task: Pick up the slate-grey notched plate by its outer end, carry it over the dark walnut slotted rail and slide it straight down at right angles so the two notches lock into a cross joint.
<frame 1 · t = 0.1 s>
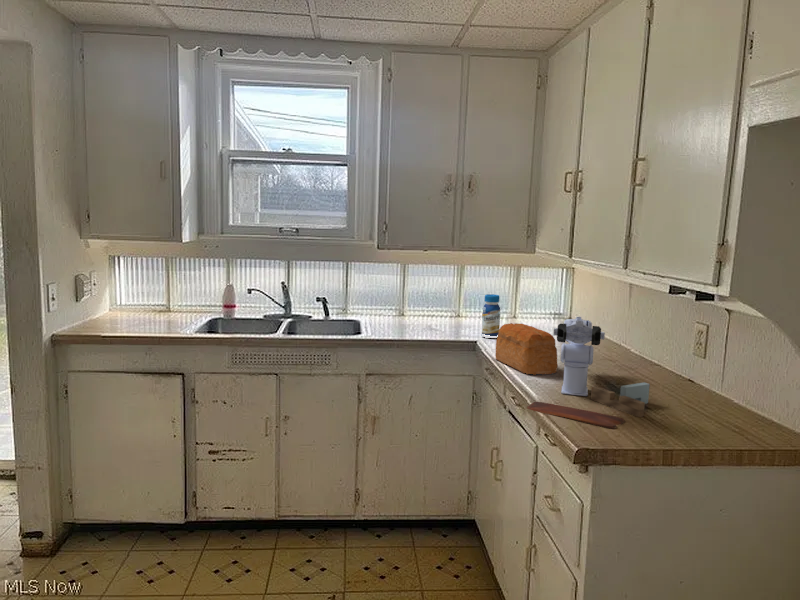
hand: (579, 336, 167), 22 cm above the worktop, tool horizontal, fingers open, 7 cm apart
walnut slotted rail: (616, 407, 173), on the worktop
wooden tablet: (573, 416, 166), on the worktop
bread: (524, 366, 221), on the worktop
beverage bottle: (490, 337, 274), on the worktop
grey notched plate: (633, 404, 176), on the worktop
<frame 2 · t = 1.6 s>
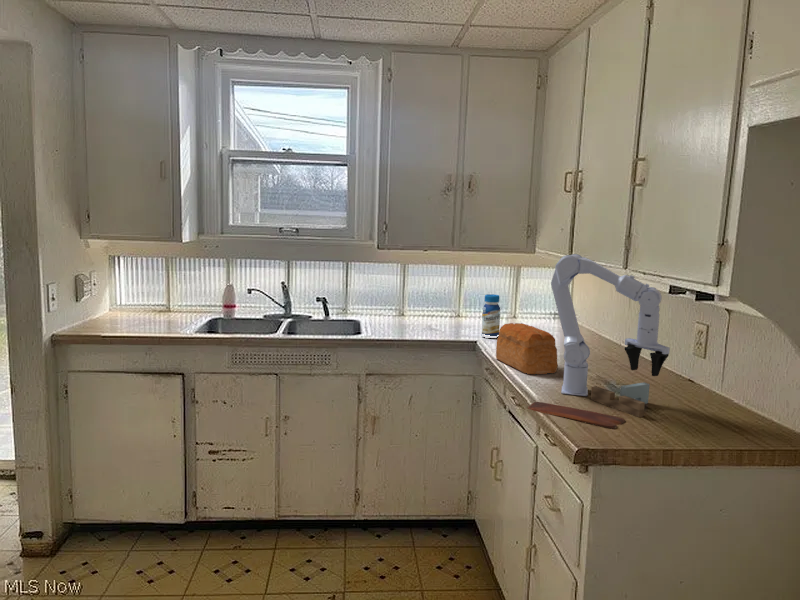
hand: (644, 372, 177), 9 cm above the worktop, tool pointing down, fingers open, 7 cm apart
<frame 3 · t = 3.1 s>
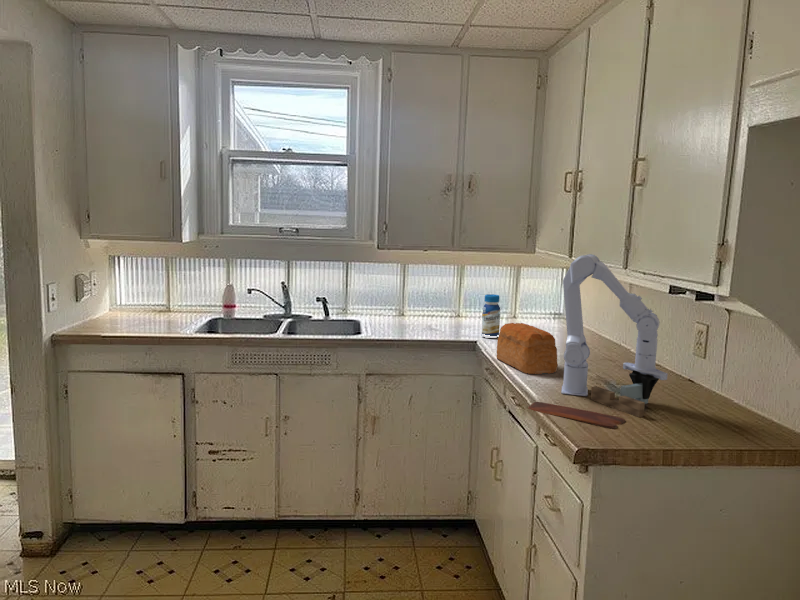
hand: (642, 397, 178), 2 cm above the worktop, tool pointing down, fingers closed on grey notched plate, 2 cm apart
grey notched plate: (633, 404, 176), on the worktop, touching gripper
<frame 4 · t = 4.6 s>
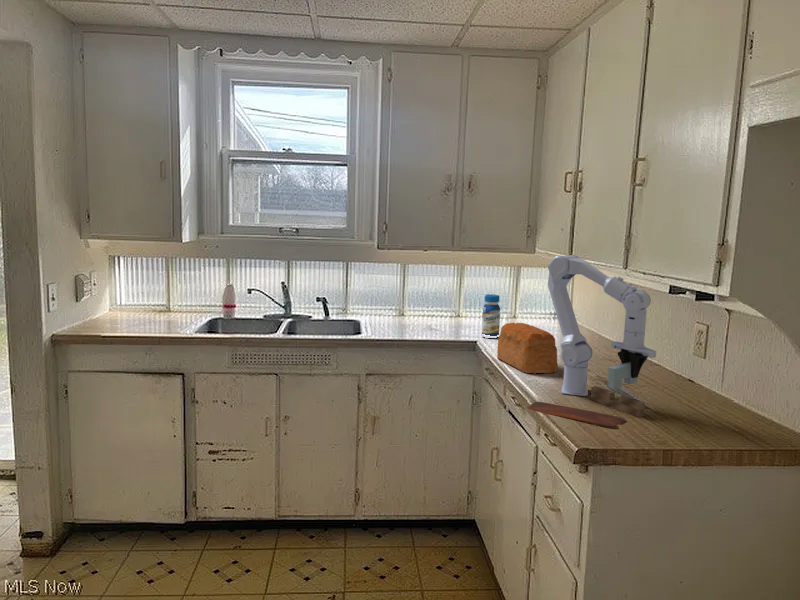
hand: (630, 376, 174), 9 cm above the worktop, tool pointing down, fingers closed on grey notched plate
grey notched plate: (622, 384, 173), point 7 cm above the worktop, touching gripper
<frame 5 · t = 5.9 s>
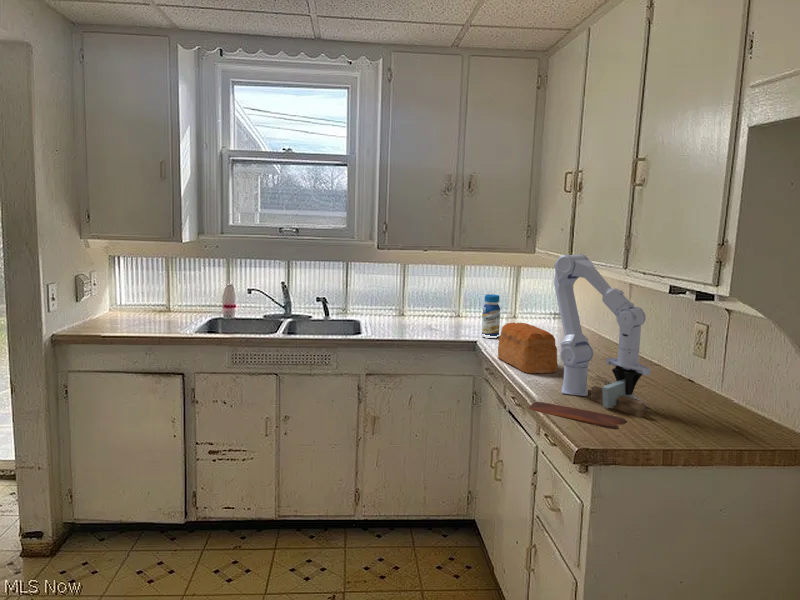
hand: (625, 393, 174), 4 cm above the worktop, tool pointing down, fingers closed on grey notched plate, 2 cm apart
grey notched plate: (618, 402, 173), point 1 cm above the worktop, tilted 9°, touching gripper
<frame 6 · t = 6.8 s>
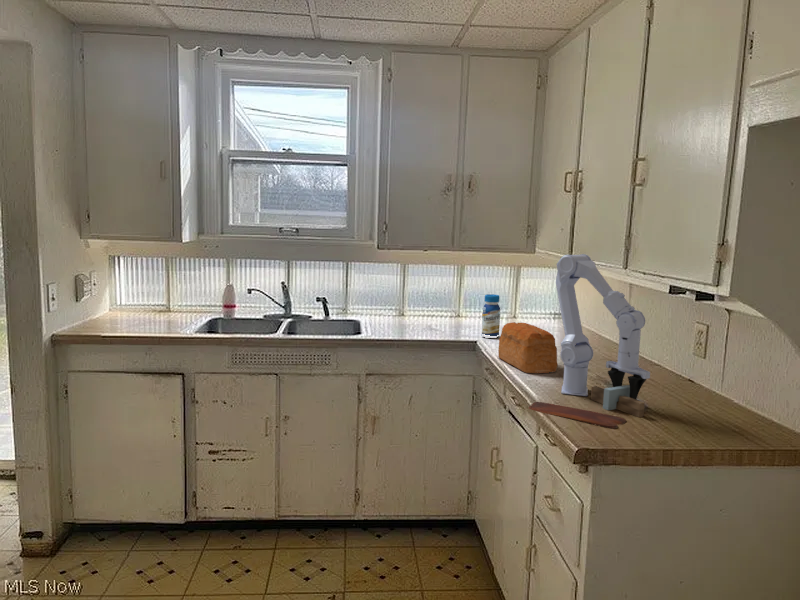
hand: (625, 396, 174), 3 cm above the worktop, tool pointing down, fingers open, 5 cm apart
grey notched plate: (617, 407, 173), on the worktop
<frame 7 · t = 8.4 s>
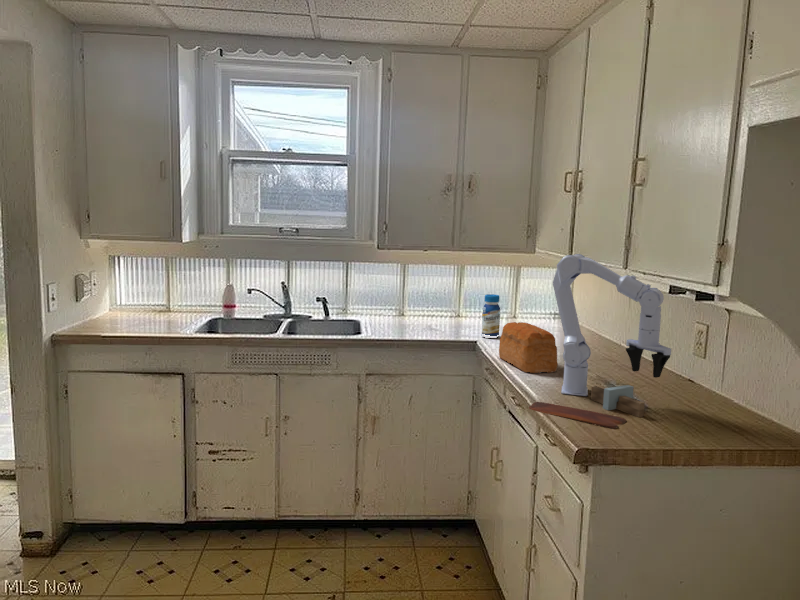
hand: (645, 373, 175), 9 cm above the worktop, tool pointing down, fingers open, 7 cm apart
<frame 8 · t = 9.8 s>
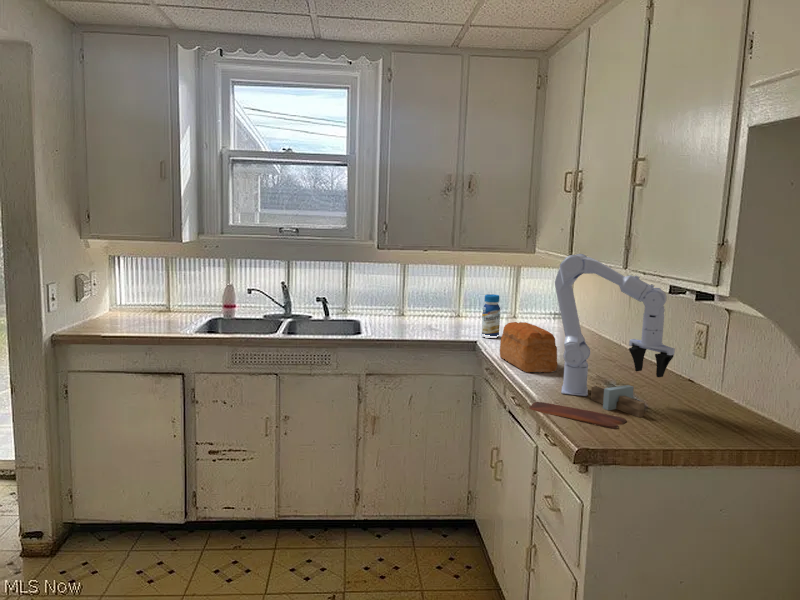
hand: (648, 373, 176), 9 cm above the worktop, tool pointing down, fingers open, 7 cm apart
at the end: grey notched plate 0.6 cm off-centre on the walnut slotted rail, point 0.0 cm above the walnut slotted rail's base; grey notched plate tilted 0°; the gripper is holding nothing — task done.
